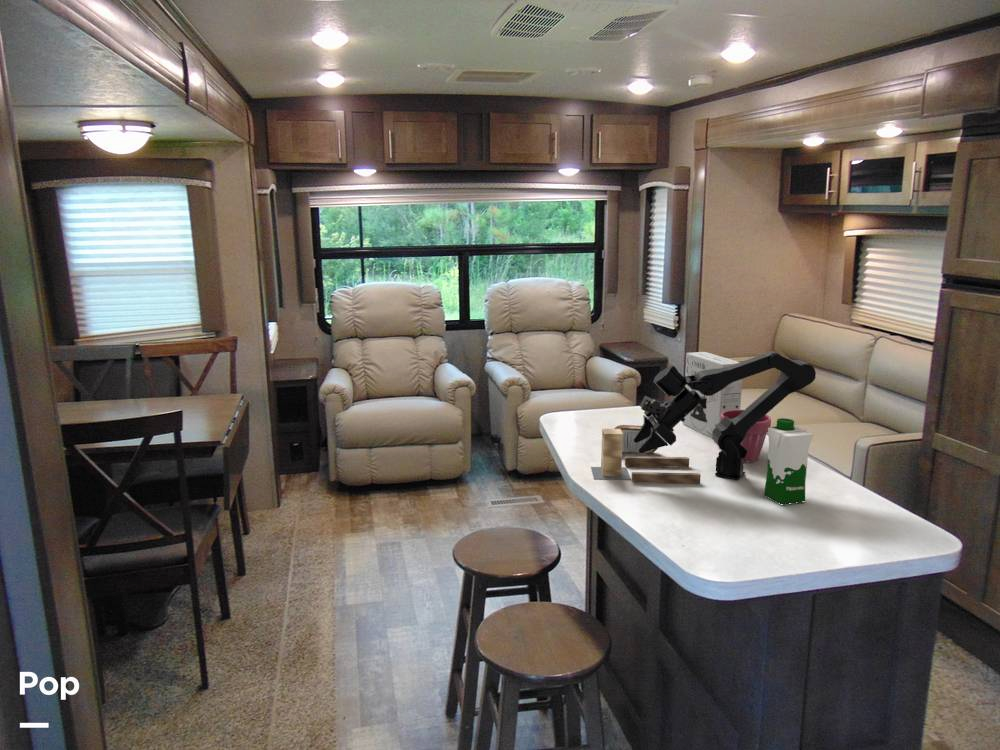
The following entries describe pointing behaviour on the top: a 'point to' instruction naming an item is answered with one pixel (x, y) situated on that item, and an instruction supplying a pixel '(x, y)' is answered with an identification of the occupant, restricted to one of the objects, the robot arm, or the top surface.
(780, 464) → the milk carton
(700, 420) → the cereal box
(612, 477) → the mat
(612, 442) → the oak block
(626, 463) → the plinth rails
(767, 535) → the top surface
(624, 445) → the tin
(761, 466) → the top surface
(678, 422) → the robot arm
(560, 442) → the top surface
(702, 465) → the top surface
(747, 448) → the plant pot
